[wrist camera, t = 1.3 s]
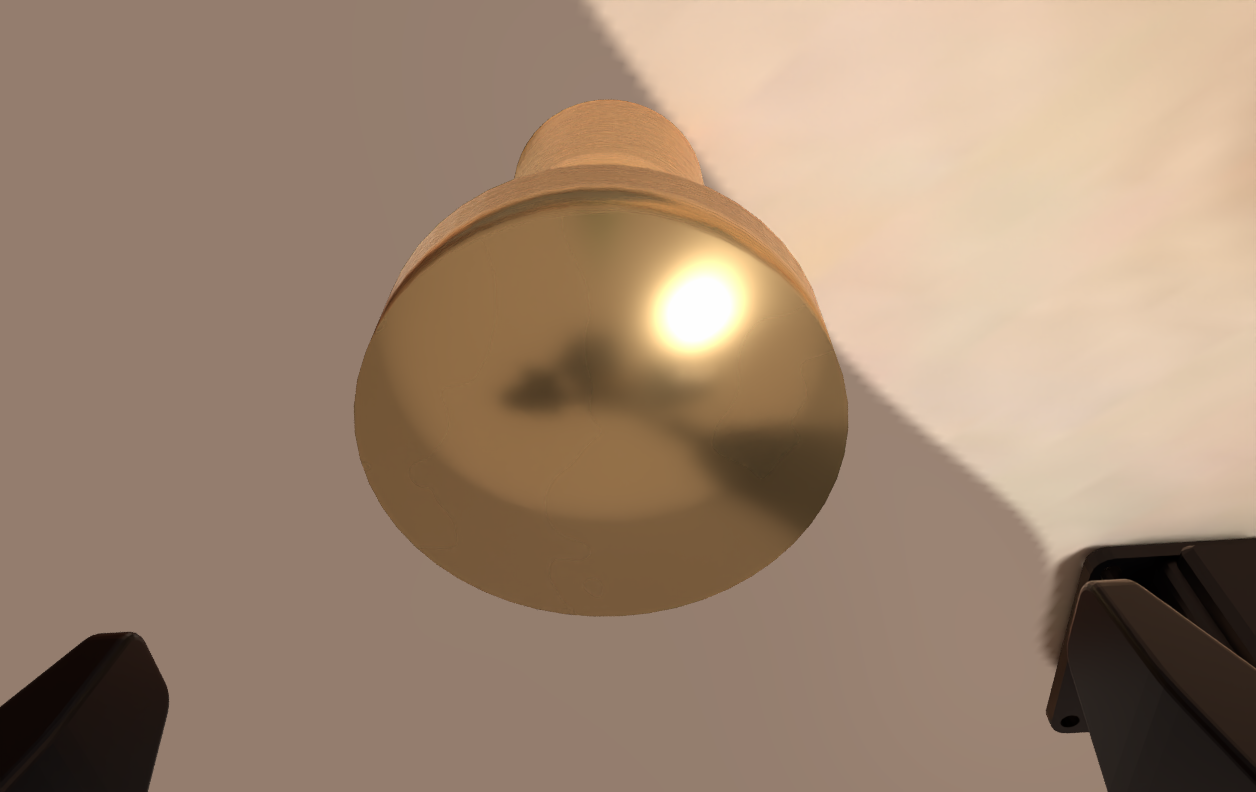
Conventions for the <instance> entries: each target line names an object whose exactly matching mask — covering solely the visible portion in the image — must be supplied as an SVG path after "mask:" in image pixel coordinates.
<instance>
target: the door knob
mask: <svg viewBox="0 0 1256 792" xmlns="http://www.w3.org/2000/svg"><path fill="white" fill-rule="evenodd" d="M354 420H355V436H356V440H357V445H358V450H359V456H360V460H361V462H362V465H363V468H364V471H365V473H366V476H367V479H368V482H369V484H370V486H371V488H372V490H373V491H374V493H375V495H376V497H377V499H378V501H379V502H380V504H381V506H382V507H383V509H384V510H385V512H386V513H387V514H388V516H389V517H390V518H391V520H392V521H393V523H394V524H395V525H396V527H397V528H398V529H399V530H400V531H401V532H402V533H403V534H404V535H405V536H406V537H407V538H408V539H409V541H410V542H412V544H414V546H415V547H416V548H418V549H419V550H420V551H421V552H422V553H424V554H425V555H426V556H427V557H428V558H430V559H431V560H432V561H433V562H435V563H436V564H437V565H439V566H440V567H442V568H443V569H445V570H446V571H448V572H450V573H451V574H452V575H454V576H456V577H457V578H459V579H460V580H462V581H464V582H466V583H468V584H470V585H472V586H474V587H476V588H478V589H480V590H482V591H484V592H486V593H489V594H491V595H494V596H497V597H499V598H502V599H504V600H507V601H510V602H513V603H517V604H520V605H524V606H527V607H531V608H535V609H539V610H545V611H550V612H556V613H562V614H570V615H582V616H626V615H636V614H646V613H652V612H657V611H662V610H668V609H672V608H677V607H680V606H684V605H687V604H690V603H694V602H697V601H700V600H703V599H706V598H708V597H711V596H713V595H715V594H718V593H720V592H722V591H725V590H727V589H729V588H731V587H733V586H735V585H737V584H739V583H740V582H742V581H744V580H746V579H748V578H750V577H752V576H753V575H754V574H756V573H757V572H759V571H760V570H762V569H763V568H764V567H766V566H767V565H769V564H770V563H771V562H773V561H774V560H775V559H777V558H778V557H779V556H780V555H781V554H782V553H783V552H784V551H786V550H787V549H788V548H789V547H790V546H791V545H792V544H794V542H795V541H796V540H797V539H798V538H799V537H800V536H801V534H802V533H803V532H804V531H805V530H806V529H807V528H808V527H809V526H810V524H811V523H812V522H813V520H814V519H815V517H816V516H817V514H818V513H819V511H820V510H821V508H822V507H823V505H824V504H825V502H826V500H827V498H828V496H829V494H830V492H831V490H832V488H833V486H834V484H835V481H836V479H837V477H838V473H839V470H840V467H841V464H842V460H843V457H844V453H845V446H846V440H847V433H848V401H847V396H846V390H845V384H844V379H843V374H842V371H841V369H840V366H839V363H838V360H837V357H836V354H835V351H834V349H833V346H832V343H831V340H830V337H829V334H828V332H827V329H826V326H825V323H824V320H823V317H822V315H821V312H820V309H819V306H818V303H817V300H816V298H815V295H814V292H813V289H812V287H811V285H810V283H809V282H808V280H807V278H806V276H805V274H804V272H803V270H802V269H801V267H800V265H799V263H798V262H797V261H796V259H795V258H794V257H793V255H792V254H791V253H790V251H789V250H788V249H787V247H786V246H785V245H784V243H783V242H782V241H781V240H780V239H779V238H778V237H777V236H776V235H775V234H774V233H773V232H772V231H771V230H770V229H769V228H768V227H767V226H766V225H765V224H764V223H763V222H762V221H761V220H759V219H758V218H757V217H755V216H754V215H753V214H751V213H750V212H749V211H747V210H746V209H744V208H743V207H742V206H740V205H739V204H738V203H736V202H734V201H733V200H731V199H729V198H727V197H725V196H724V195H722V194H720V193H718V192H716V191H714V190H713V189H711V188H709V187H706V186H704V184H703V178H702V174H701V169H700V165H699V162H698V160H697V157H696V155H695V152H694V150H693V149H692V147H691V145H690V143H689V142H688V140H687V139H686V138H685V136H684V135H683V134H682V133H681V131H680V130H679V129H678V128H677V127H676V126H675V125H674V124H673V123H671V122H670V121H669V120H667V119H666V118H665V117H663V116H662V115H660V114H659V113H657V112H655V111H653V110H652V109H649V108H647V107H644V106H642V105H639V104H635V103H631V102H628V101H621V100H594V101H588V102H584V103H580V104H577V105H574V106H572V107H569V108H567V109H564V110H562V111H561V112H559V113H558V114H556V115H554V116H552V117H551V118H550V119H549V120H547V121H546V122H545V123H544V124H542V126H541V127H540V128H539V129H538V130H537V131H536V132H535V133H534V134H533V136H532V137H531V138H530V140H529V141H528V143H527V144H526V146H525V148H524V150H523V152H522V154H521V157H520V159H519V162H518V165H517V169H516V173H515V177H514V179H513V180H511V181H508V182H506V183H504V184H501V185H499V186H496V187H494V188H492V189H489V190H488V191H486V192H484V193H482V194H481V195H479V196H477V197H475V198H474V199H472V200H470V201H469V202H467V203H465V204H463V205H462V206H461V207H460V208H458V209H457V210H456V211H454V212H453V213H452V214H450V215H449V216H448V217H447V218H445V219H444V220H443V221H442V222H440V223H439V224H438V225H437V226H436V227H435V228H434V230H432V231H431V232H430V233H429V235H428V236H427V237H426V238H425V239H424V240H423V241H422V242H421V243H420V244H419V245H418V247H417V248H416V249H415V251H414V252H413V254H412V255H411V257H410V258H409V260H408V261H407V262H406V264H405V265H404V267H403V268H402V270H401V272H400V275H399V277H398V279H397V281H396V283H395V285H394V287H393V289H392V291H391V293H390V296H389V298H388V301H387V303H386V305H385V307H384V310H383V313H382V315H381V317H380V320H379V322H378V324H377V326H376V329H375V331H374V334H373V336H372V338H371V341H370V343H369V345H368V348H367V351H366V353H365V356H364V359H363V362H362V366H361V369H360V372H359V376H358V379H357V386H356V394H355V402H354Z"/></svg>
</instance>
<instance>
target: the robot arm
mask: <svg viewBox="0 0 1256 792" xmlns="http://www.w3.org/2000/svg"><path fill="white" fill-rule="evenodd" d="M1107 567H1110V568H1108V569H1106V568H1107ZM1104 569H1105V570H1104ZM168 708H169V694H168V689H167V686H166V684H165V681H164V679H163V678H162V675H161V674H160V672H159V669H158V667H157V665H156V664H155V661H154V659H153V657H152V655H151V653H150V651H149V649H148V647H147V645H146V643H145V641H144V640H143V638H142V637H141V636H139V635H138V634H136V633H133V632H119V633H101V634H96V635H92V636H90V637H88V638H87V639H86V640H84V641H83V642H82V643H80V644H79V645H78V646H76V647H75V648H74V649H73V650H71V651H70V652H69V653H68V654H66V655H65V656H64V657H63V658H61V659H60V660H59V661H57V662H56V663H55V664H54V665H53V666H51V667H50V668H49V669H47V670H46V671H45V672H44V673H42V674H41V675H40V676H38V677H37V678H36V679H35V680H34V681H32V682H31V683H30V684H28V685H27V686H26V687H25V688H23V689H22V690H21V691H20V692H18V693H17V694H16V695H15V696H13V697H12V698H11V699H10V700H8V701H7V702H6V703H5V704H3V705H2V706H1V707H0V792H148V789H149V785H150V781H151V777H152V773H153V769H154V765H155V761H156V757H157V753H158V749H159V745H160V741H161V738H162V734H163V730H164V726H165V722H166V718H167V714H168ZM1046 715H1047V717H1048V720H1049V722H1050V724H1051V726H1052V728H1053V729H1054V730H1055V731H1057V732H1060V733H1079V732H1090V736H1091V739H1092V742H1093V745H1094V748H1095V752H1096V755H1097V758H1098V762H1099V765H1100V768H1101V771H1102V775H1103V778H1104V781H1105V784H1106V787H1107V791H1108V792H1256V539H1239V540H1222V541H1204V542H1187V543H1169V544H1152V545H1135V546H1117V547H1106V548H1101V549H1098V550H1096V551H1094V552H1092V553H1091V554H1090V555H1089V556H1088V557H1087V558H1086V560H1085V562H1084V564H1083V568H1082V572H1081V576H1080V579H1079V583H1078V587H1077V591H1076V595H1075V599H1074V603H1073V607H1072V611H1071V615H1070V619H1069V622H1068V626H1067V630H1066V634H1065V638H1064V642H1063V646H1062V650H1061V654H1060V658H1059V662H1058V665H1057V669H1056V673H1055V677H1054V681H1053V685H1052V689H1051V693H1050V697H1049V701H1048V705H1047V709H1046Z"/></svg>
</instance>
